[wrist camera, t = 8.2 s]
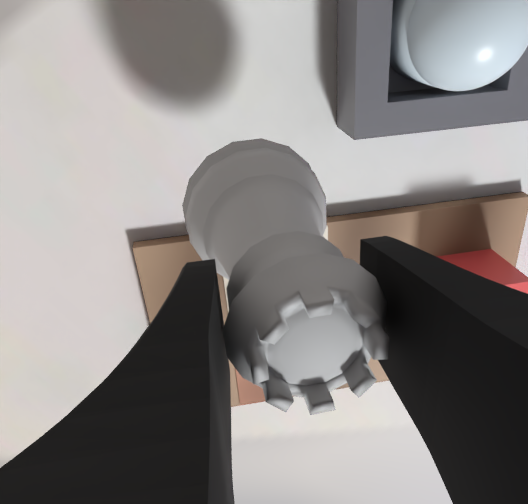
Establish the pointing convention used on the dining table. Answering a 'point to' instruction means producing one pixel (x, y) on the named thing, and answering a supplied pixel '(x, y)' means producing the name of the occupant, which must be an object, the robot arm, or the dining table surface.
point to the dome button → (457, 40)
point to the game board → (357, 251)
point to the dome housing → (408, 84)
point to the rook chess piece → (284, 276)
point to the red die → (490, 267)
